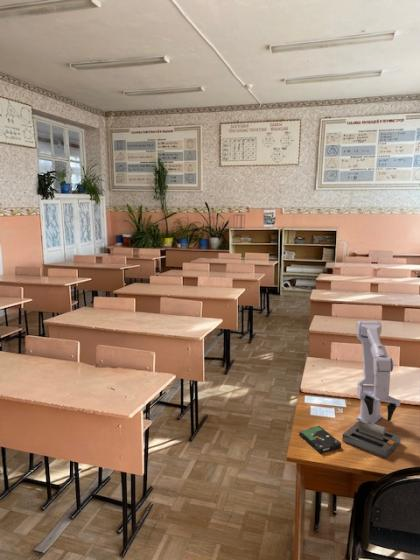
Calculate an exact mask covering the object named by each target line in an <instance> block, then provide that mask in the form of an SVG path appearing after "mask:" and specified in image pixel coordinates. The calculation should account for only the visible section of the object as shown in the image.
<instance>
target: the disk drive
mask: <svg viewBox="0 0 420 560" xmlns="http://www.w3.org/2000/svg"><path fill="white" fill-rule="evenodd" d="M298 435H299V436H300V438H301V439H302V440H304V441H305V442H306V443H307V444H308V445H309V446H311V447H312V449H314V450H315V451H316V452H317V453H318V455H319V454H320V455H321V454H325V453H329V452H332V451H337V450H340V449H341V448H342V442H340V441H339V440H338V439H336V438H335V437H334V436H333V435H331V434H330V433H329V432H328V431H327V430H325V429H324V428H323V427H322V426H321V425H317V426H313V427H309V428H307V429H303V430H299V432H298ZM339 448H340V449H339ZM336 449H337V450H336Z"/></svg>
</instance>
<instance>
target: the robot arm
mask: <svg viewBox="0 0 420 560" xmlns="http://www.w3.org/2000/svg"><path fill="white" fill-rule="evenodd" d="M355 330H356V332H355V333H356V340H359V341H360V343H361V351H362V352H361V353H362V354H361V355H362V356H361V357H362V369H363V377H362V378H361V379H360V380H359V381H358V382H357V391H356V393H357V397H358V399H359V400H360V409H359V410H360V411H359V414H358V415H357V416H356V419H357V420H360V419H362V420H365V421H368V422H371V423H374V424H376V423H377V422H378V421H379V420H380V419H382V417H383V415H381V406H382V405H381V402H383V403H387V404H388V405H387V406H386V407H387V408H386V409H387V421H388V422H391V420H392V418H393V415H394V413H395V410H396V409H397V408H398V407H400V406H401V400H399V399H396V398H395V397H393V396H391V395H390V382H391V372H393V369H394V362H393V361H394V360H393V358H392V357H391V356H390V355H389V354H388V352H387V350H386V347H385V345H384V344H383V343H382V342H381V338H380V336H381V333H382V323H381V322H380V321H379V320H376V321H372V320H369V321H368V320H366V321H365V320H358V321H357V322H356V326H355Z"/></svg>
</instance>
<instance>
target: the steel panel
mask: <svg viewBox="0 0 420 560" xmlns="http://www.w3.org/2000/svg"><path fill="white" fill-rule="evenodd" d="M358 422H359V433H362V434H364V435H367V436H370V437H372V438H375V439H378V440H380V441H383V442H384V437H385V431H386V427H384V426H382V425H379V424H376V423H371V422H368V421H365V420H362V419H358Z"/></svg>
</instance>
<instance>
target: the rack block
mask: <svg viewBox="0 0 420 560" xmlns="http://www.w3.org/2000/svg"><path fill="white" fill-rule="evenodd" d="M401 438H402V437H401V435H398V434H395V433H393V432H389V431H386V430H385V437H384V442H383V441H380V440H378V439H375V438H372V437H370V436H367V435H364V434H362V433H359V421H357V422H355V423H354V424H353V425H352V426H351V427H349V428H348V429H346V431H345V432H343V433H342V439H341V440H342V442H344V443H346V444H349V445H351V446H354V447H356V448H359V449H361V450H364V451H366V452H368V453H371V454H374V455H376V456H379V457H381V458H384V459H388V458H389V456H390V455H392V453H393V452H394V451H395V450H396V449H397V447H399V445H400V444H401V441H402V440H401Z"/></svg>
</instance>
